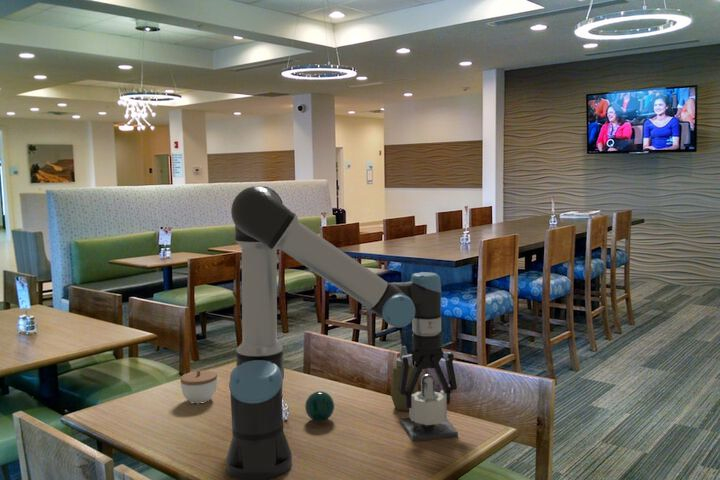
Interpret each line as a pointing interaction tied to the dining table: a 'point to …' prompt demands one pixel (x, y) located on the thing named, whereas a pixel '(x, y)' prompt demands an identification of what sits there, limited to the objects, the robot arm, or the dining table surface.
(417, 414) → the ring
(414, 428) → the post
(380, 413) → the dining table surface
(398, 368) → the squeeze bottle
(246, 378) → the robot arm
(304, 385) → the dining table surface
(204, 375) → the lidded jar
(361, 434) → the dining table surface
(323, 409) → the sphere
